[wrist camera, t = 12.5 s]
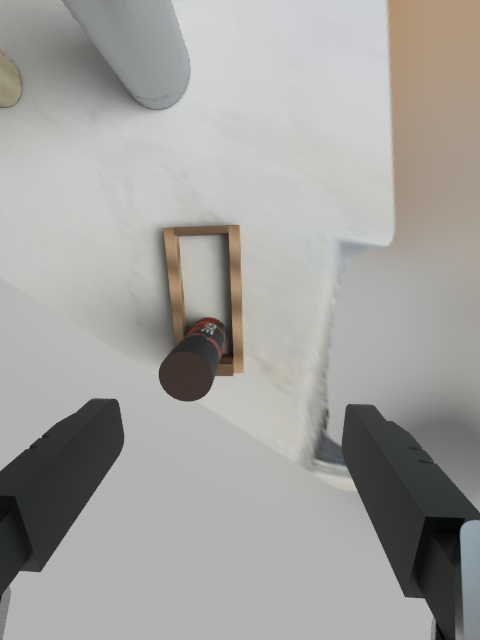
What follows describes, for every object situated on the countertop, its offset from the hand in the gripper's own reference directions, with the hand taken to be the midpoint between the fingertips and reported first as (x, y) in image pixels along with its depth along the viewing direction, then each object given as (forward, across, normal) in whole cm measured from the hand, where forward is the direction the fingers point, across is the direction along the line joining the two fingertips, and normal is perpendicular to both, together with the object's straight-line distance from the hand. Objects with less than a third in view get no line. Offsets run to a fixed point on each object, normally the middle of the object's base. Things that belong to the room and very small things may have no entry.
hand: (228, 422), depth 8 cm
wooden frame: (+31, +6, +2) cm, 32 cm away
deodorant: (+31, +6, +7) cm, 32 cm away
